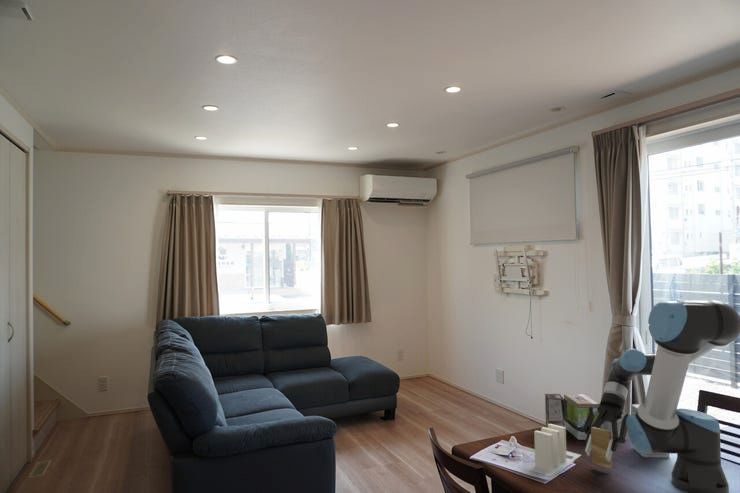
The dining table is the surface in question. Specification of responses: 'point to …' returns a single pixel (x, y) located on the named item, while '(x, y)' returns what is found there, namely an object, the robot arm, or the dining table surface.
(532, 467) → the mat
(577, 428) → the tea box
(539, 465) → the ivory tile
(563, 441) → the ivory tile
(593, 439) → the ochre tile
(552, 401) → the coffee box
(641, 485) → the dining table surface
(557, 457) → the ivory tile
